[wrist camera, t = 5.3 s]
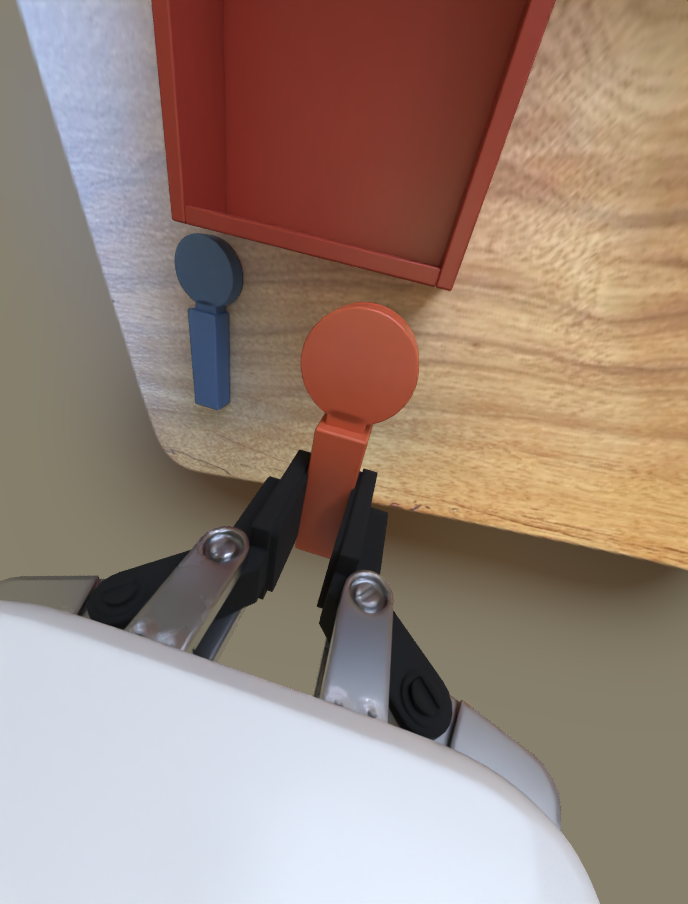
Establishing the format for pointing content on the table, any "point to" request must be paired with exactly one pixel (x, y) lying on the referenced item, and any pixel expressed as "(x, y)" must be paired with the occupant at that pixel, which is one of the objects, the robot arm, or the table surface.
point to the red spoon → (350, 405)
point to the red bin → (343, 121)
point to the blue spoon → (209, 311)
